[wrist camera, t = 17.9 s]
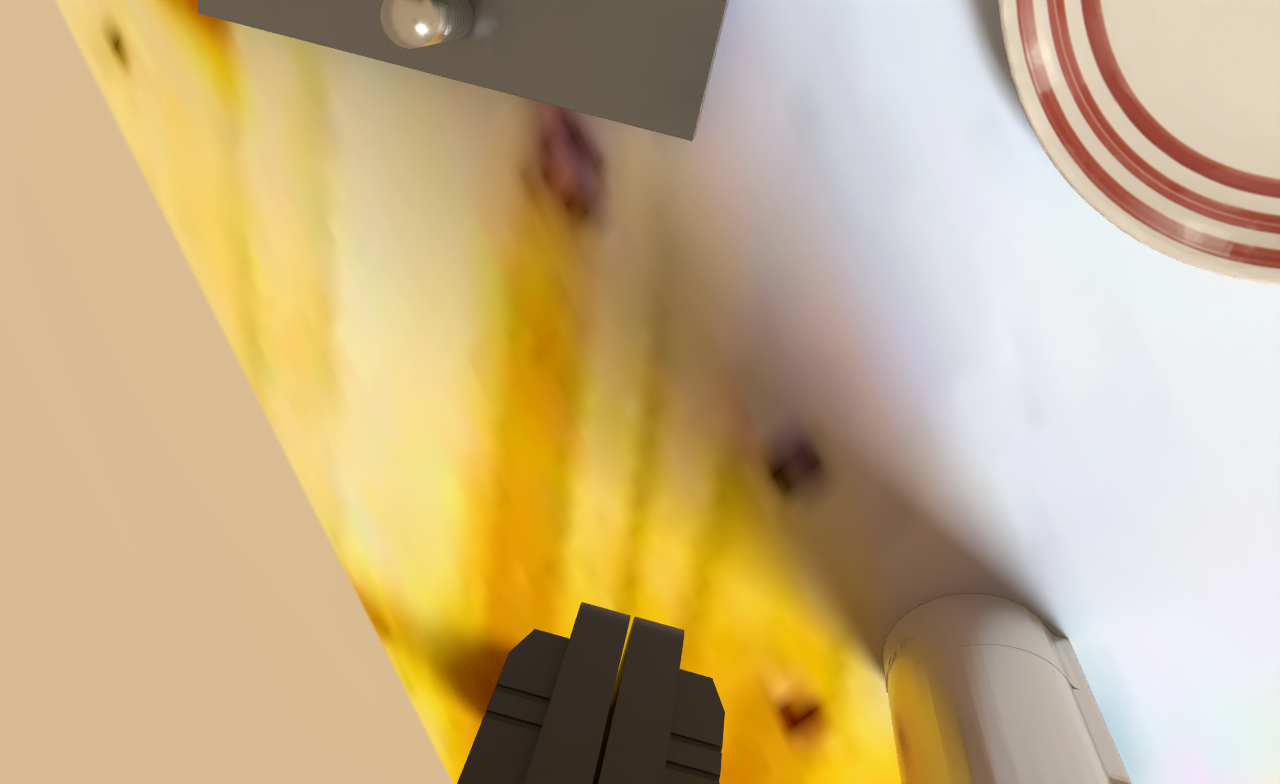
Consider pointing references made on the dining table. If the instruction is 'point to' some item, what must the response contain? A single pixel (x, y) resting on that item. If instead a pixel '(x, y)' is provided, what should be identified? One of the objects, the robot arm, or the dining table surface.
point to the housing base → (526, 47)
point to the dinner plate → (1161, 119)
